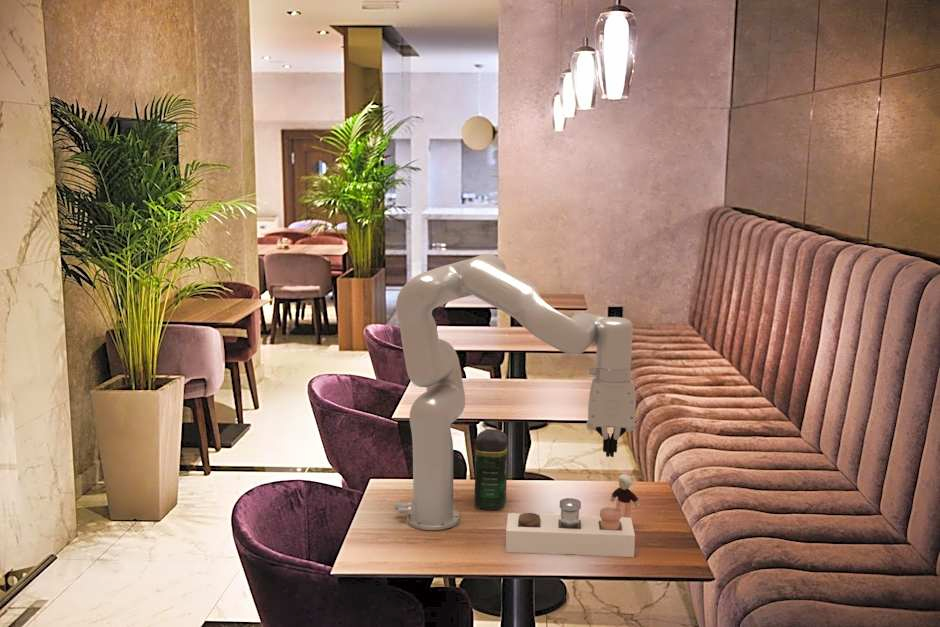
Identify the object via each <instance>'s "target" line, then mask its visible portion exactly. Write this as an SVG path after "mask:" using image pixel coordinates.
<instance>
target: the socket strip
mask: <svg viewBox="0 0 940 627" xmlns="http://www.w3.org/2000/svg"><path fill="white" fill-rule="evenodd" d="M521 514H522V513H515V512H513V513H512V512H511V513H507V520H506V527H505V528H506V529H505V530H506V531H505V553H518V554H519V553H523V554H540V553H541V554H542V555H543V554H546V555H565V554H575V555H574V556H590V555H592V557H593V556H595V557H619V558H620V557H621V558H622V557H623V558H635V542H636V540H635V539H636V535H635V530H634V525H633V521H632V517H630V518H625V517H621V519H620V522H619V530H601V518H600V516H595V515H593V516H592V515H579V529H566V528H561V514H541V513H540V514H537V513H536V514H537V515H539V516H540V523H539V524H538V527H520V523H519V515H521Z"/></svg>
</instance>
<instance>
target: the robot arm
mask: <svg viewBox="0 0 940 627" xmlns="http://www.w3.org/2000/svg"><path fill="white" fill-rule="evenodd" d="M470 296H474V297H475V298H477V299H479V300H481V301H483V302H485V303H487V304H489V305H490V306H492V307H494V308H496V309H498V310H500V311H501V312H503V313H505V314H506V315H508V316H510V317H512V318H513V319H515V320H516V321H517V322H518V323H519V324H520V325H521V326H522V328H525V330H526V331H528V332H529V333H530V334H532V336H534V337H535V338H537V339H538V340H540V341H541V342H543V343H545V344H547V345H550V346H551V347H552V348H555V349H556V350H558V351H559V352H560V351H561V352H562V353H565V354H568V355H579V354H583V353H584V352H585V351H587V350H588V349H589V348H591V347H596V354H595V355H596V356H595V357H596V360H595V366H594V367H592V368H588V369H589V370H588V373H589V375H592V376H594V378H592V381H591V384H590V388H589V395H588V396H589V398H588V406H587V420H586V425H585V426H586V428H587V430H592V431H595V432H597V433H598V434H599V435H600V436H601V437H602V441H603V442H602V443H603V444H602V451H603V453H605V456H606V458H610V457H611V458H614V457H615V456H614V455H615V453H618V440H619V439H620V437H621V436H623V435H624V434H625V433H628V432H633V431H636V428H637V427H636V411H637V410H636V400H637V399H636V387H635V382H634V381H633V380H632V379H631V376H632V375H631V373H632V354H633V351H632V350H633V332H634V330H633V329H634V327H633V322H632V321H631V320H630V319H628V318H626V317H620V316H601V315H597V314H593V313H592V314H591V313H587V312H579V313H576V314H573V315H572V316H571V317H569V316H567V315H566V314H564V313H562V312H560V311H559V310H557V309H555V308H553V307H552V306H551V305H549V304H548V303H547V302H546V301H545V300H544V299H543V298H542V297H541V295H540V293H539V291H538V289H537V287H536V286H535V285H534V284H533V283H532V282H530V281H528V280H526V279H524V278H522V277H521V276H518V275H517V274H515V273H512V272H511V271H509V270H507V266H506V264H505V263H504V261H503V260H502V259H501V258H500V257H499V256H497V255H495V254H491V253H482V254H480V255H477V256H474V257H472V258H468V259H465V260H459V261H457V262H453V263H450V264H446V265H441V266H438V267H436V268H433V269H430V270H426V271H423V272H421V273H420V274H417V275H415V276H413V277H412V278H411V279H409V281H407V282H406V283H405V284H404V285H403V286H402V287H401V289H400V290H399V292H398V294H397V298H396V304H395V308H396V309H395V310H396V317H397V322H398V326H399V332H400V337H401V338H400V339H401V344H402V350H403V357H404V362H405V368H406V373H407V376H408V378H409V380H410V381H411V383H412V384H413V385H415V386H416V387H419V388H426V391H425V392H423V393H422V394H420V395H419V396H418V397H417V398H416V399H415V400H414V401H413V403H412V405H411V407H410V410H409V425H410V430H411V431H410V432H411V438H412V439H411V440H412V475H413V476H412V488H413V489H412V493H413V494H412V495H413V498H412V500H409V501H408V502H407V501H406V502H405V501H395V503H394V510H396V511H398V513H399V514H404V513H406V514H407V515H406V522H407V523H408V525H410V526H411V527H413V528H415V529H418V530H422V531H423V530H424V531H443V530H446V529H449V528H453V527H455V526H457V525H458V524H459V522H460V520H461V516H460V513H459V512H458V511H457V510H455V509H454V441H453V438H452V430H451V424H453V423H454V422H455V421H456V420H457V419H458V418H459V417H461V415H462V414H463V412H464V410H465V408H466V407H465V406H466V395H465V394H466V393H465V388H464V382H463V376H462V370H461V364H460V359H459V356H458V354H457V351H456V349H455V348H454V347H453V345H452V344H451V343H449V342H448V341H447V340H444V339H440V338H439V334H438V333H439V332H438V327H437V323H436V321H435V318H434V316H433V310H434V309H436V308H439V307H441V306H443V305H446V304H448V303H451V302H452V301H453V302H454V301H455V300H458V299H462V298H466V297H470ZM608 428H613V431H612V433H611V436H610V434H609V431H608Z"/></svg>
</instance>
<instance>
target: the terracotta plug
mask: <svg viewBox="0 0 940 627" xmlns="http://www.w3.org/2000/svg"><path fill="white" fill-rule="evenodd" d="M599 517H600V518H601V530H619V522H620V519H621V511H620V510H619V509H616V507H604V508H601V509H600V510H599Z"/></svg>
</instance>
